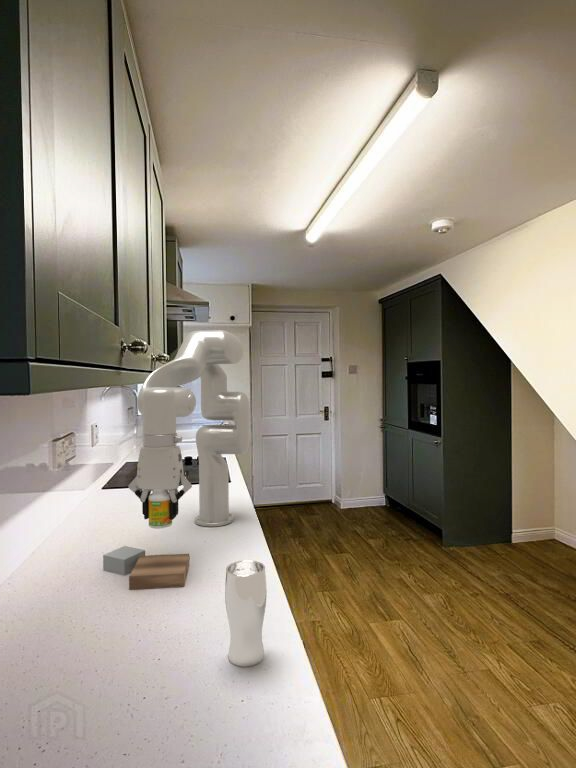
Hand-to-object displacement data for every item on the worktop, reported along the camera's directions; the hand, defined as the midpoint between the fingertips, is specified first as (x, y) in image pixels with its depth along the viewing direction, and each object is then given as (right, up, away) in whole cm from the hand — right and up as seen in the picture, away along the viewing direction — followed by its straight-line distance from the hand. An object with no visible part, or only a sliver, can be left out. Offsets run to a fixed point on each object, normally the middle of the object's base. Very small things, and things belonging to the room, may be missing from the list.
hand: (160, 517), depth 110 cm
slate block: (-11, -14, +6) cm, 19 cm away
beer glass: (+23, -15, -31) cm, 42 cm away
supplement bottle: (0, -2, 0) cm, 2 cm away
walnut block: (0, -14, 0) cm, 14 cm away
